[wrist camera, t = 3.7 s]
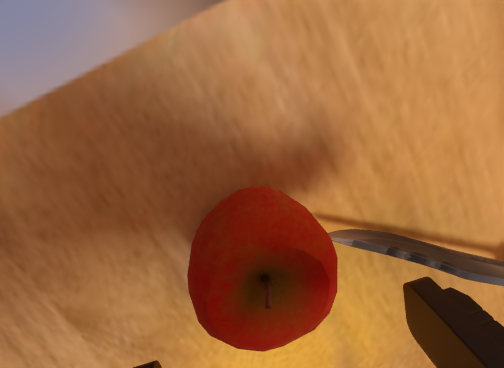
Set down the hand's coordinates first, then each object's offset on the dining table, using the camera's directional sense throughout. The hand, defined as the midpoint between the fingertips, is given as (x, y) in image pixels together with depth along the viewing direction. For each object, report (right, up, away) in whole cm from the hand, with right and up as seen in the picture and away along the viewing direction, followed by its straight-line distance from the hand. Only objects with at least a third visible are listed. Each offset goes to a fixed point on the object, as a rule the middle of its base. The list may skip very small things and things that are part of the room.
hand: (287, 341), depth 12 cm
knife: (+13, +1, +12) cm, 18 cm away
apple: (-2, +3, +9) cm, 10 cm away
